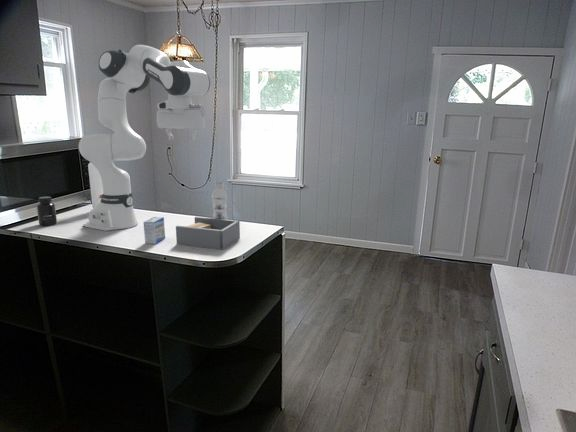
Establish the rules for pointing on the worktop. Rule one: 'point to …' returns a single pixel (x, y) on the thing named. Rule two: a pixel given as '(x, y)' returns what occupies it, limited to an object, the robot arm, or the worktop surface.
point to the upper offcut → (200, 225)
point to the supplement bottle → (46, 212)
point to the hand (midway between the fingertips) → (182, 140)
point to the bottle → (95, 184)
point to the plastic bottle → (219, 201)
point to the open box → (209, 233)
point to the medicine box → (154, 230)
